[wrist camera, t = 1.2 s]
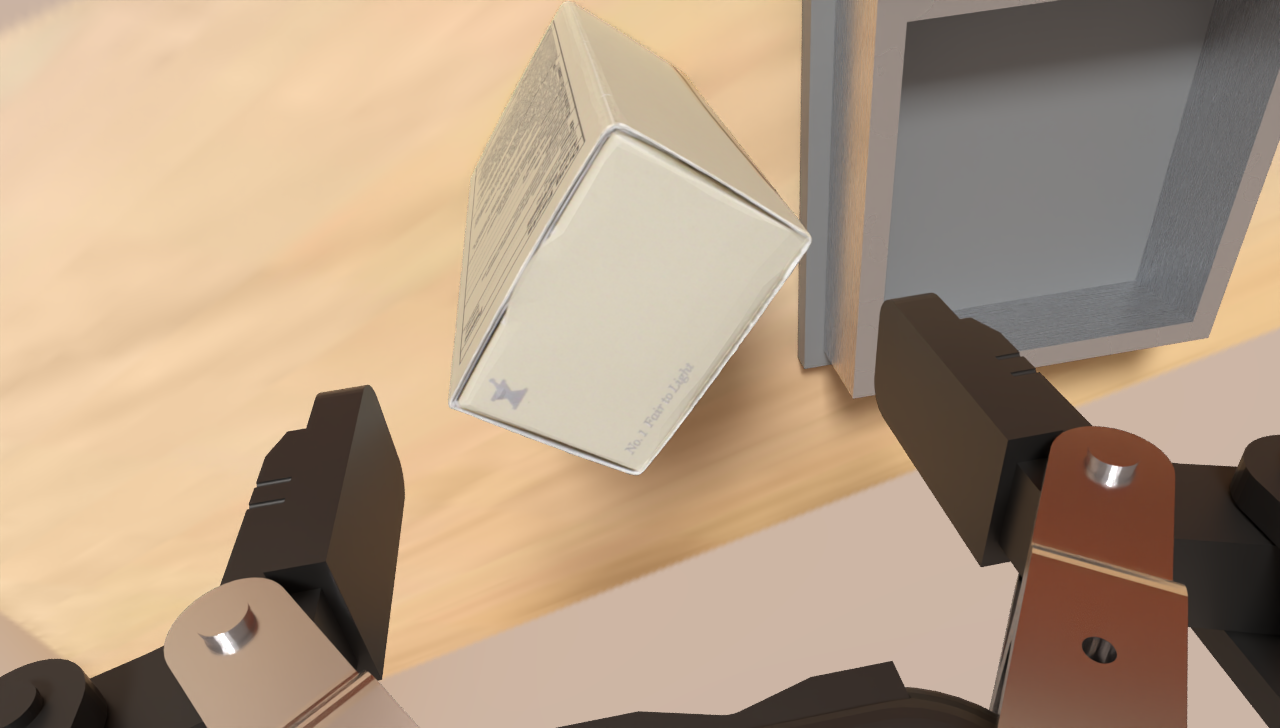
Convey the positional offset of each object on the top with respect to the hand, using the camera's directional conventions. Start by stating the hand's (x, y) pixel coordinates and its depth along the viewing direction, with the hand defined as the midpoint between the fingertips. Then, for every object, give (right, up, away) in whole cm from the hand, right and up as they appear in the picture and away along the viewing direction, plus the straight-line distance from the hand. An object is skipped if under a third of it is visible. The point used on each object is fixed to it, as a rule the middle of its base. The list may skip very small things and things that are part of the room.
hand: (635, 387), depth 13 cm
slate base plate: (+12, +7, +14) cm, 20 cm away
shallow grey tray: (+12, +7, +13) cm, 20 cm away
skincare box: (-2, +8, +12) cm, 14 cm away
